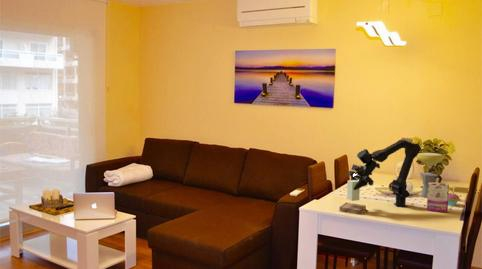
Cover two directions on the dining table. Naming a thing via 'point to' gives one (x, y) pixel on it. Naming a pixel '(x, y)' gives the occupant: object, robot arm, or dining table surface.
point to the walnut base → (352, 208)
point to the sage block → (352, 190)
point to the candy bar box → (437, 197)
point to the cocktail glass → (430, 158)
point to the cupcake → (452, 198)
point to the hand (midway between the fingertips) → (351, 188)
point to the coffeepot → (428, 178)
